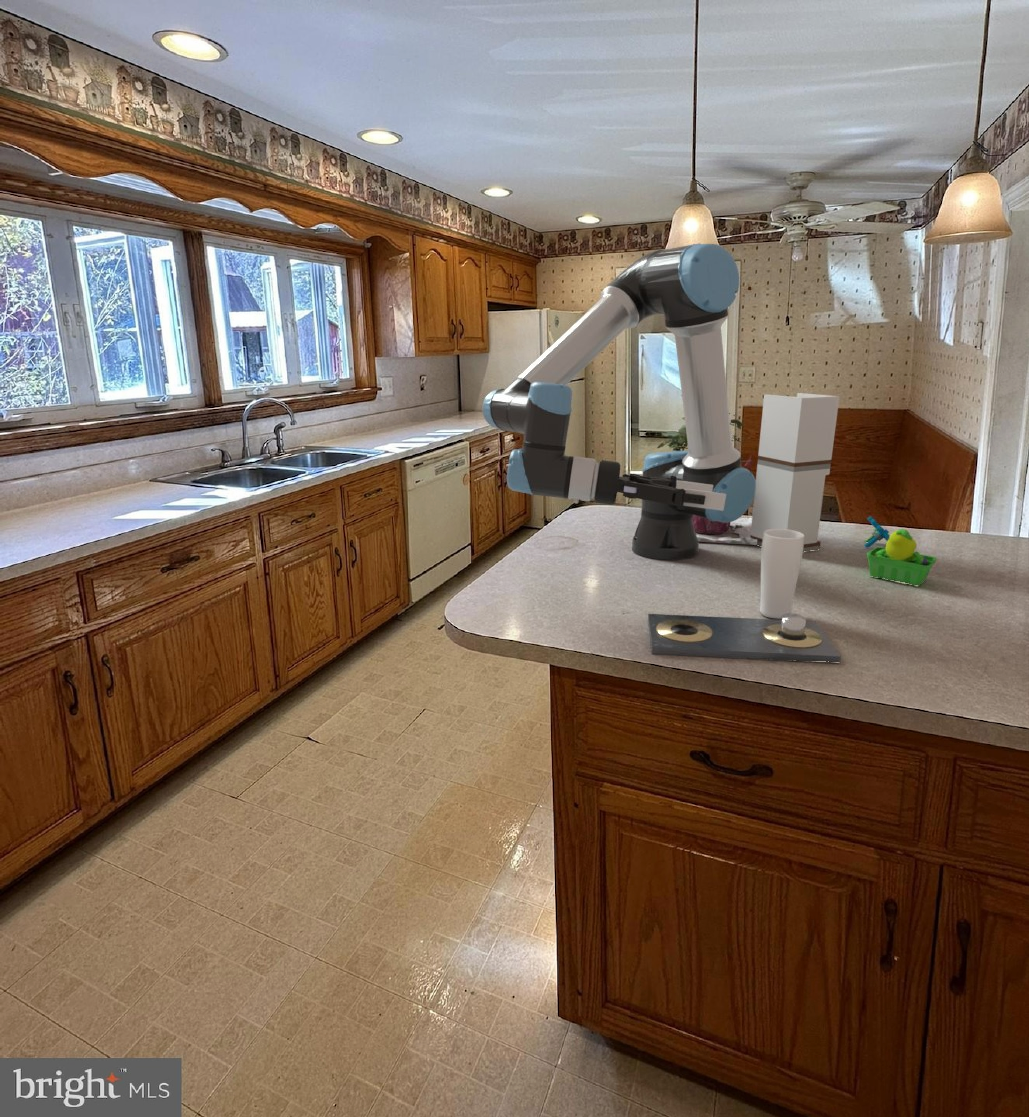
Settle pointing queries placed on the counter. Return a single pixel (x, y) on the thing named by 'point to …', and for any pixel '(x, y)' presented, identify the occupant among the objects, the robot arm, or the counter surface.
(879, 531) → the blue plastic t-shaped piece
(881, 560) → the fruit basket
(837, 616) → the counter surface
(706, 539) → the potted flower
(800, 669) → the counter surface
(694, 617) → the bolt plate
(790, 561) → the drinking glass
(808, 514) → the white banded pillar
